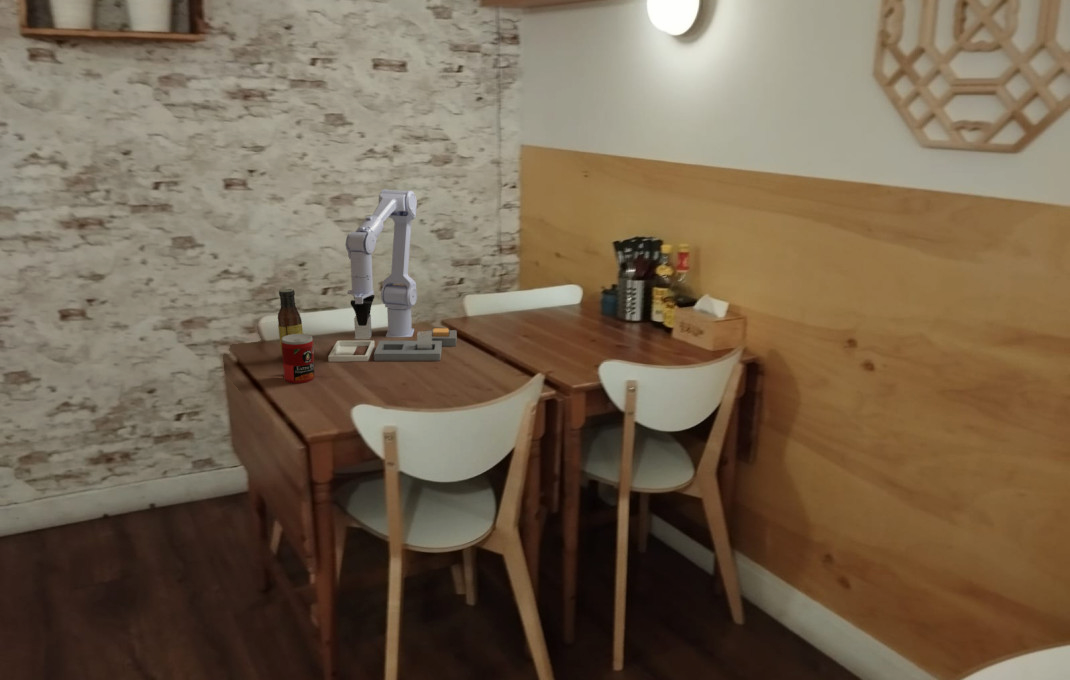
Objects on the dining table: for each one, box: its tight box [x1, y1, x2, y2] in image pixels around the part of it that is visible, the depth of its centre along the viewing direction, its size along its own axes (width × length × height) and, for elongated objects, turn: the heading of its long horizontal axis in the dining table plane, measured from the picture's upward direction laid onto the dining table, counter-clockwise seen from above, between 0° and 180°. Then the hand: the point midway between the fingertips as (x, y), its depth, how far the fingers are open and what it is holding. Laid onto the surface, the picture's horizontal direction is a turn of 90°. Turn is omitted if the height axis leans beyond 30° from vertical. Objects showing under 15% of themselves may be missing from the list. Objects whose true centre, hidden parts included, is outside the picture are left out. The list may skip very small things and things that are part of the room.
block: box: [416, 330, 433, 350], centre depth 235 cm, size 4×4×6 cm
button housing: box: [426, 329, 458, 347], centre depth 248 cm, size 9×9×3 cm
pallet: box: [373, 340, 443, 362], centre depth 235 cm, size 13×18×3 cm
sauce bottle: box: [277, 288, 304, 360], centre depth 227 cm, size 6×6×20 cm
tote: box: [327, 340, 375, 363], centre depth 235 cm, size 16×11×2 cm
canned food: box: [281, 333, 316, 384], centre depth 213 cm, size 8×8×11 cm
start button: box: [432, 327, 450, 337], centre depth 247 cm, size 4×4×3 cm
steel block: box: [353, 314, 373, 340], centre depth 233 cm, size 4×4×6 cm
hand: (363, 323), depth 233 cm, fingers closed on steel block, 4 cm apart
